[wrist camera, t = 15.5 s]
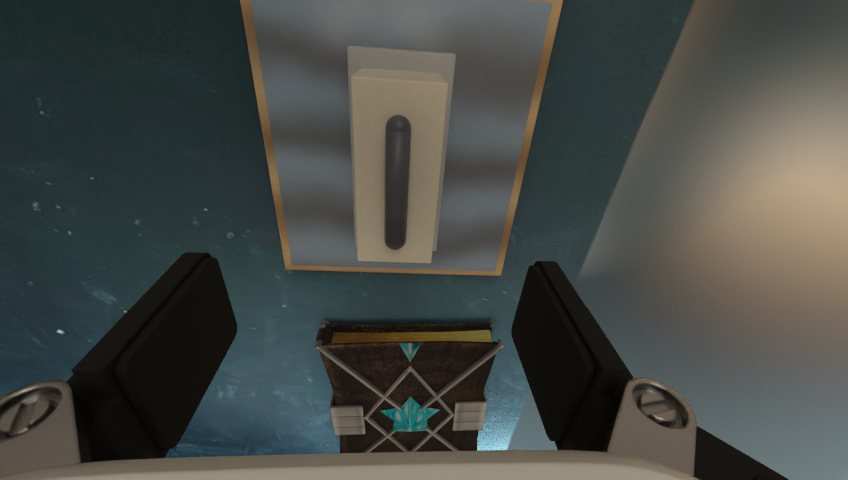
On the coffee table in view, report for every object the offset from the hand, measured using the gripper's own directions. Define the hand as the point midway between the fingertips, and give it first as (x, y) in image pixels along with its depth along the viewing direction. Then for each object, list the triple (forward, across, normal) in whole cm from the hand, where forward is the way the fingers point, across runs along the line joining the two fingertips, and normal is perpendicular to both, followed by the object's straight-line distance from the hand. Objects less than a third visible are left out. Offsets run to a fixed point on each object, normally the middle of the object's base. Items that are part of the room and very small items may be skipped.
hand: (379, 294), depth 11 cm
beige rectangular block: (+15, 0, 0) cm, 15 cm away
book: (+16, -3, +28) cm, 32 cm away
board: (+16, -1, 0) cm, 17 cm away
